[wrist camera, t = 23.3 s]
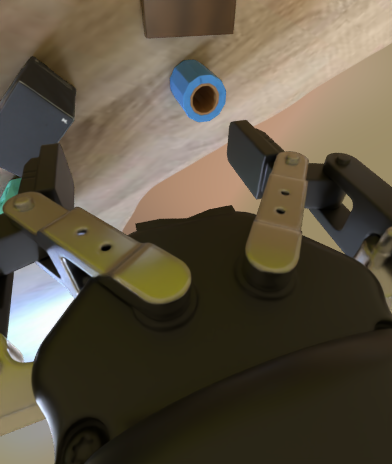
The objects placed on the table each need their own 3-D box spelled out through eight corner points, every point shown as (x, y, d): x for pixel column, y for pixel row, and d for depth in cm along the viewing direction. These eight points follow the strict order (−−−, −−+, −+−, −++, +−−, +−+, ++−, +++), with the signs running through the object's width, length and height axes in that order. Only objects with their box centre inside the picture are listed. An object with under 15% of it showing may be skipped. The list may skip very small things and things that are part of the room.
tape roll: (171, 104, 44) (183, 124, 39) (169, 61, 40) (182, 76, 35) (207, 100, 45) (224, 119, 40) (208, 58, 41) (227, 73, 36)
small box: (29, 51, 35) (17, 76, 28) (77, 88, 39) (78, 119, 32) (-11, 117, 38) (-30, 154, 31) (38, 145, 42) (31, 183, 35)
